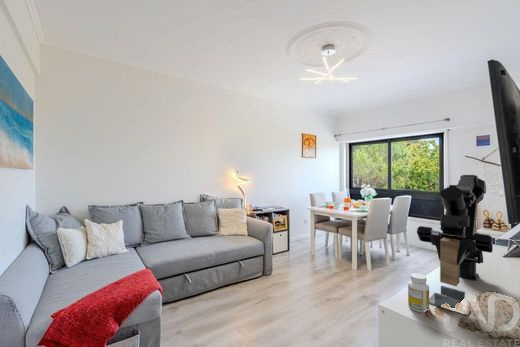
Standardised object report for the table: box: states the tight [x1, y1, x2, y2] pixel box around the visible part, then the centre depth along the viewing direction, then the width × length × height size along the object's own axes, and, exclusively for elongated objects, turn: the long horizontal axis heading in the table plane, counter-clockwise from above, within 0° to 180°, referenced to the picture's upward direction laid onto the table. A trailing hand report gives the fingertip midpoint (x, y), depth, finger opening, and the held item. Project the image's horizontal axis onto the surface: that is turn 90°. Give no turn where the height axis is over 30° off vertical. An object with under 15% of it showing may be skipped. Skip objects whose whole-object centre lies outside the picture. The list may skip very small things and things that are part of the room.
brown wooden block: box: [439, 238, 461, 287], centre depth 78 cm, size 4×4×13 cm
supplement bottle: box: [407, 272, 430, 313], centre depth 76 cm, size 5×5×10 cm
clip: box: [429, 285, 466, 308], centre depth 78 cm, size 8×10×4 cm
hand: (448, 262), depth 77 cm, fingers closed on brown wooden block, 4 cm apart
